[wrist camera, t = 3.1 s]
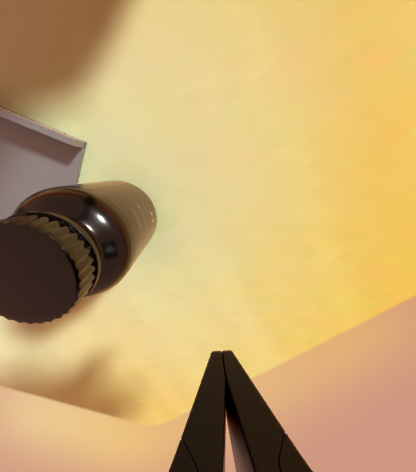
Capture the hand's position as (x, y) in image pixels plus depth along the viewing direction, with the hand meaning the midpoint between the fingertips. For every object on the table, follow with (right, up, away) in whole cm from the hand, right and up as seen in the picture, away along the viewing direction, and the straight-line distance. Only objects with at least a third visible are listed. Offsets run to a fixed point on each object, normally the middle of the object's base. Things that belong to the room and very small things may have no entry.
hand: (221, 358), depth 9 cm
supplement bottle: (-9, +7, +11) cm, 16 cm away
